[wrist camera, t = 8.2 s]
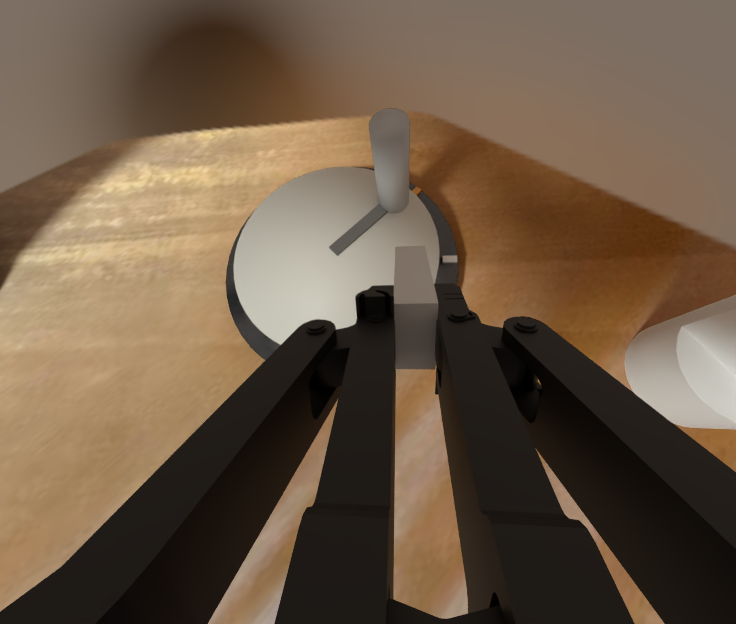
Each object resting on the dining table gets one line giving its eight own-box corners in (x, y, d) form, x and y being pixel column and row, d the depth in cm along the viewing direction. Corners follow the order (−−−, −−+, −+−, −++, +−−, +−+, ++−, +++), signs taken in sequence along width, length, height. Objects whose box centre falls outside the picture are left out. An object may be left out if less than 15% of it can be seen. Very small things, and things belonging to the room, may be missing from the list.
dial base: (190, 314, 36) (179, 309, 34) (308, 149, 41) (303, 138, 39) (385, 432, 30) (384, 433, 28) (494, 223, 35) (498, 212, 33)
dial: (326, 406, 29) (282, 399, 19) (207, 262, 35) (124, 198, 25) (481, 260, 32) (517, 184, 22) (346, 149, 38) (323, 48, 28)
